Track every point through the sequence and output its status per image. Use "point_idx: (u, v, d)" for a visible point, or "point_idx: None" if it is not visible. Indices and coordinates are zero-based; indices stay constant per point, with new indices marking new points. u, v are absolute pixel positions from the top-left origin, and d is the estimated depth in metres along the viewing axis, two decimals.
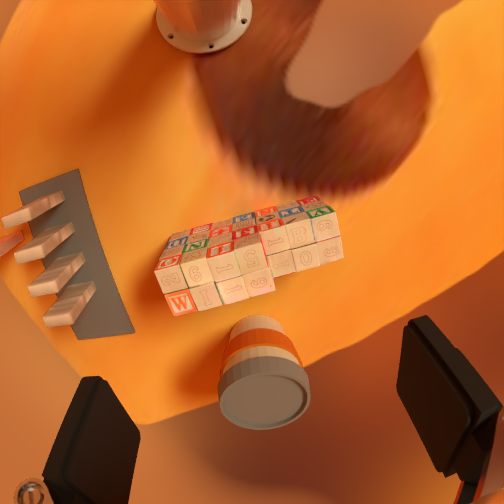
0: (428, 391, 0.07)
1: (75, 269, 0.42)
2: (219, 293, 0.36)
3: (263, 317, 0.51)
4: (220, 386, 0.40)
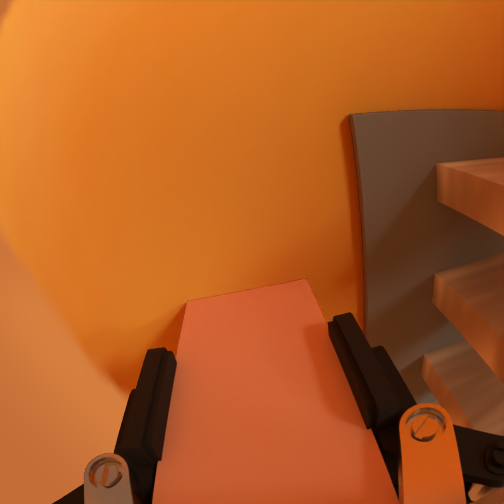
0: None
1: None
2: None
3: None
4: None
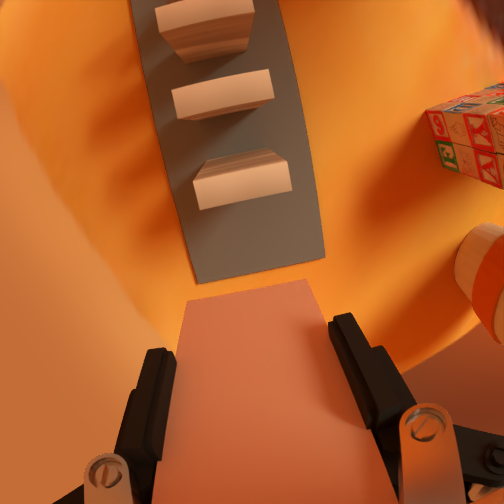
0: None
1: None
2: None
3: None
4: None
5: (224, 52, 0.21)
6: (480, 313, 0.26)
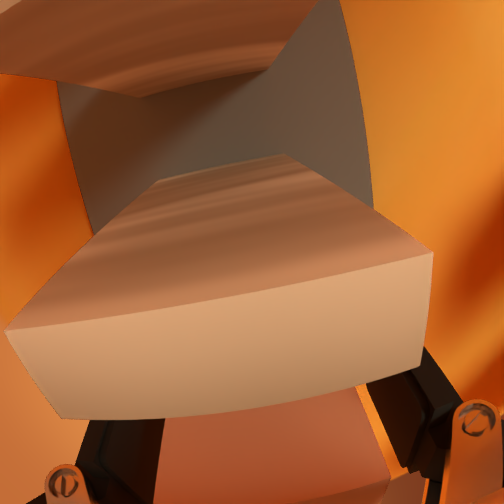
0: (389, 386, 0.08)
1: None
2: None
3: None
4: None
5: None
6: None
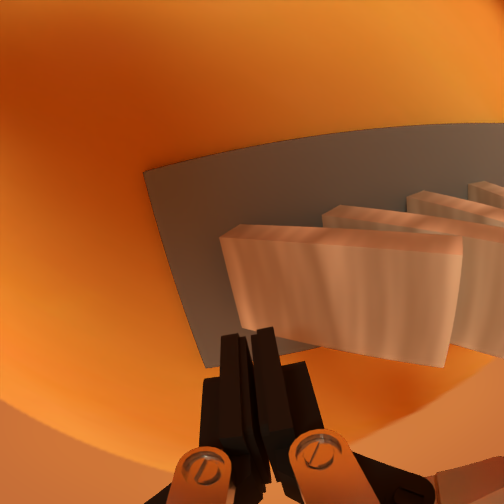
0: None
1: (479, 205, 0.12)
2: None
3: None
4: None
5: None
6: None
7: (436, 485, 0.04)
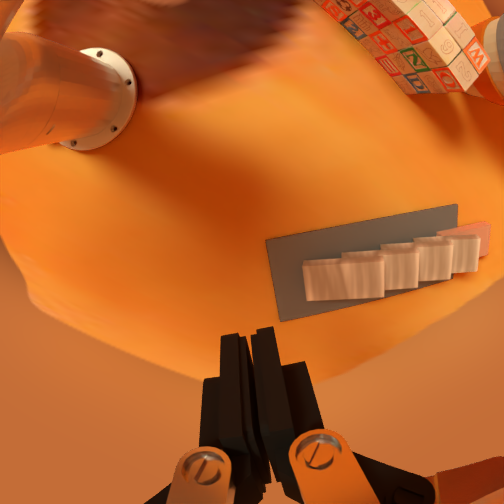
0: None
1: (407, 243, 0.39)
2: (449, 17, 0.19)
3: None
4: None
5: None
6: None
7: (436, 485, 0.04)
